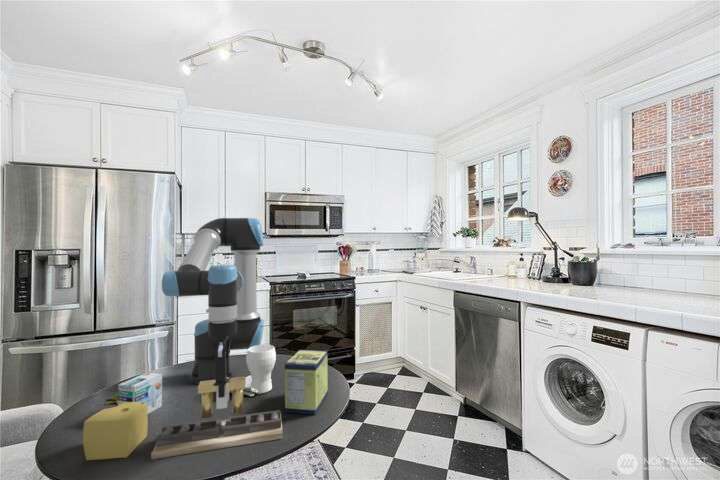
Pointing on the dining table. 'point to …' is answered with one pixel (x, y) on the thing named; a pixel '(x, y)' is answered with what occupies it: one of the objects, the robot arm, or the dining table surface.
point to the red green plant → (113, 400)
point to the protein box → (306, 381)
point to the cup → (261, 366)
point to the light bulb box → (142, 390)
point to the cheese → (115, 431)
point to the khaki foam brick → (208, 389)
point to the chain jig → (217, 434)
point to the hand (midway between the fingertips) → (222, 404)
